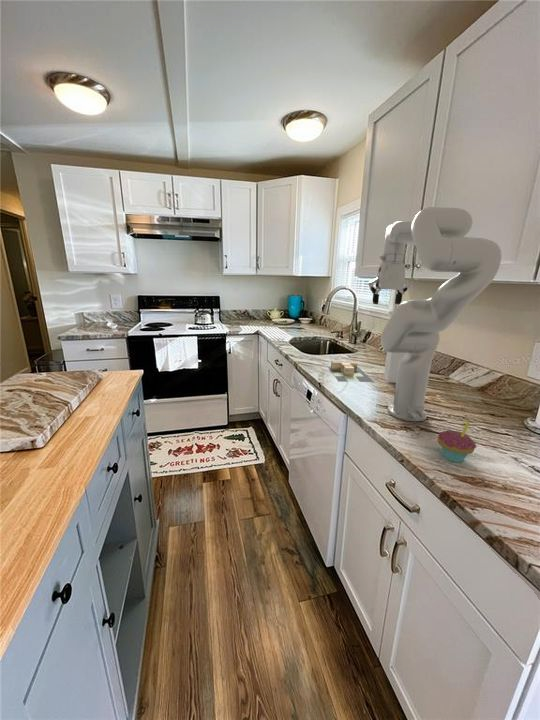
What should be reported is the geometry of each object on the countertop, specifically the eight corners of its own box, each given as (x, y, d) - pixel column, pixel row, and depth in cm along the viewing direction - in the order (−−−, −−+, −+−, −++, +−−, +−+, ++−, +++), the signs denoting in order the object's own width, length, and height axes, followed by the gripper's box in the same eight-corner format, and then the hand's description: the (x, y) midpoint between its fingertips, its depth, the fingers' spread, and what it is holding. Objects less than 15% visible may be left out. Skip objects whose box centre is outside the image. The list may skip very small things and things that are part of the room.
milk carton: (398, 380, 138) (404, 340, 133) (403, 385, 132) (410, 343, 126) (383, 379, 139) (388, 339, 134) (387, 384, 132) (393, 343, 127)
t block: (361, 376, 139) (362, 368, 138) (336, 375, 139) (337, 367, 137) (354, 368, 150) (355, 360, 149) (330, 368, 150) (331, 360, 149)
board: (373, 384, 132) (374, 381, 132) (338, 383, 132) (338, 381, 131) (358, 369, 153) (358, 367, 153) (327, 368, 153) (327, 366, 152)
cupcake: (477, 460, 78) (487, 418, 75) (462, 471, 74) (472, 427, 70) (443, 445, 85) (451, 406, 82) (428, 454, 80) (436, 413, 77)
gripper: (376, 258, 111) (370, 305, 116) (419, 260, 113) (411, 305, 118) (367, 259, 118) (362, 302, 123) (407, 260, 120) (401, 303, 125)
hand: (386, 304), depth 120 cm, fingers open, 9 cm apart
